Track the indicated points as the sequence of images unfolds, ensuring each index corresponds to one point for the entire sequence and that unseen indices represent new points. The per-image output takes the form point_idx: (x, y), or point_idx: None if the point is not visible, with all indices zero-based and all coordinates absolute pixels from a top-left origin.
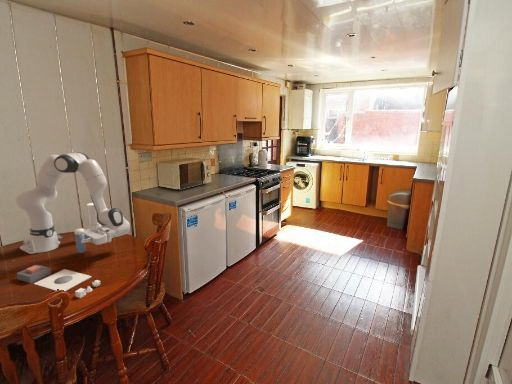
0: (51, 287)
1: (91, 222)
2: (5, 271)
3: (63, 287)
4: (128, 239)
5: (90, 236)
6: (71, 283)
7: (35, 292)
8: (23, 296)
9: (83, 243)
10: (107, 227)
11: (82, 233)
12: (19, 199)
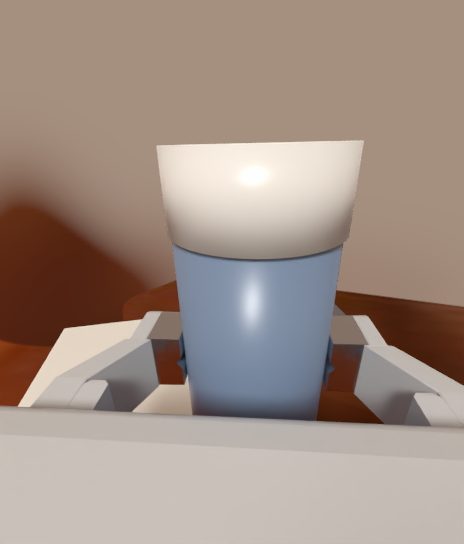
0: (135, 323)
1: None
2: (411, 301)
3: (86, 339)
4: None
5: (50, 411)
6: (74, 364)
7: (163, 302)
8: (175, 288)
9: (191, 400)
10: None
11: (166, 225)
12: None
